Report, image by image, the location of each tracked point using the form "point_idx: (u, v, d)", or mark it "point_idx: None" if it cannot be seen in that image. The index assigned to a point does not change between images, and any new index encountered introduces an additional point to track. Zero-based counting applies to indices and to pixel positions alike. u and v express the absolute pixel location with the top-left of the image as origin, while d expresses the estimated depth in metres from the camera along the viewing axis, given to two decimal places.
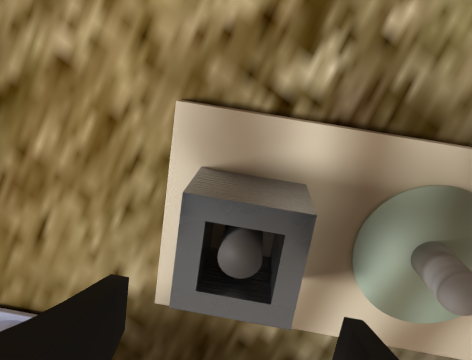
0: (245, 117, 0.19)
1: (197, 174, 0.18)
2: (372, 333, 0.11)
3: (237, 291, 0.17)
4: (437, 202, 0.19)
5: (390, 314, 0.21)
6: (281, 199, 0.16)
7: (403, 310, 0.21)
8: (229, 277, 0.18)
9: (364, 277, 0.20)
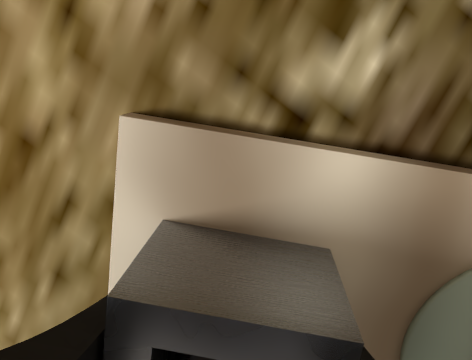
0: (231, 143, 0.12)
1: (150, 240, 0.11)
2: None
3: None
4: None
5: None
6: (294, 297, 0.09)
7: None
8: None
9: None
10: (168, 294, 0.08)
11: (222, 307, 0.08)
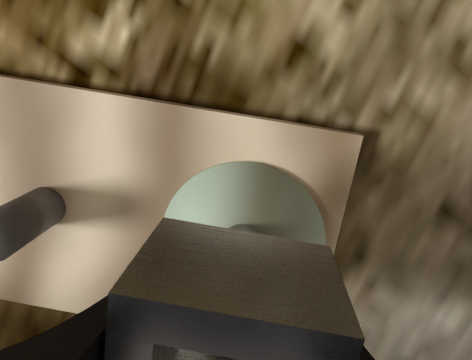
0: (28, 87, 0.17)
1: (151, 237, 0.11)
2: None
3: None
4: (240, 180, 0.17)
5: None
6: (294, 294, 0.09)
7: None
8: None
9: None
10: (169, 290, 0.08)
11: (223, 303, 0.08)
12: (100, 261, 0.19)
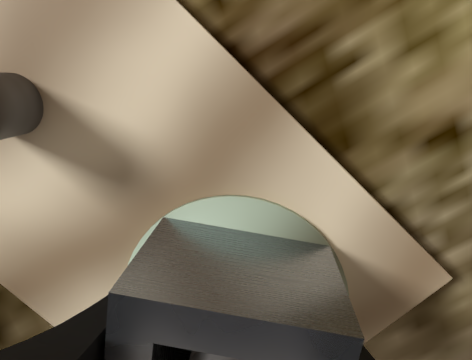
0: None
1: (151, 237, 0.11)
2: None
3: None
4: None
5: None
6: (294, 293, 0.09)
7: None
8: None
9: None
10: (169, 290, 0.09)
11: (223, 303, 0.08)
12: (40, 215, 0.13)
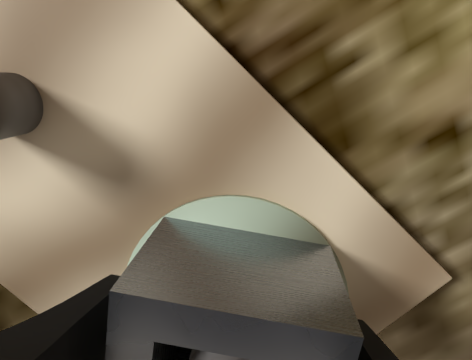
0: None
1: (152, 236, 0.11)
2: (372, 333, 0.11)
3: None
4: None
5: None
6: (294, 293, 0.09)
7: None
8: None
9: None
10: (170, 289, 0.09)
11: (223, 302, 0.08)
12: (40, 215, 0.13)
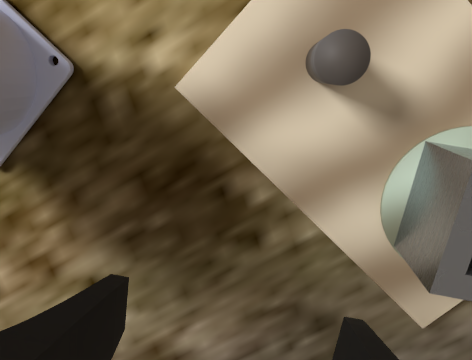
0: None
1: (441, 147, 0.16)
2: (372, 333, 0.11)
3: None
4: None
5: (390, 239, 0.19)
6: None
7: None
8: None
9: (395, 188, 0.19)
10: None
11: None
12: (328, 142, 0.19)
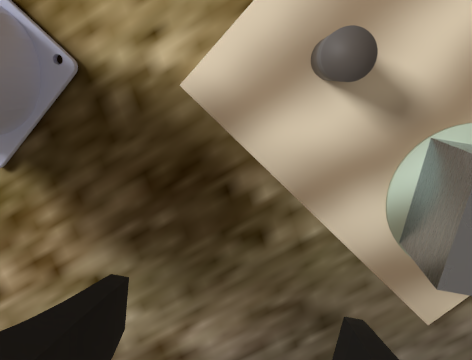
0: None
1: (447, 143, 0.16)
2: (372, 333, 0.11)
3: None
4: None
5: (395, 236, 0.19)
6: None
7: None
8: None
9: (401, 185, 0.19)
10: None
11: None
12: (333, 140, 0.19)
